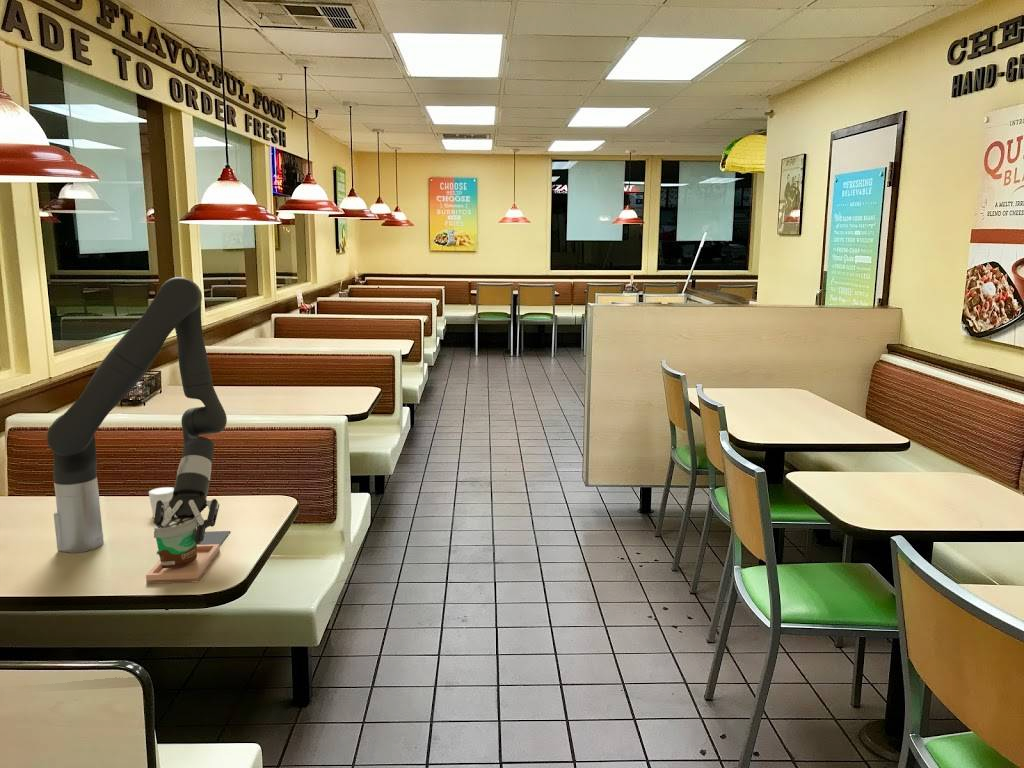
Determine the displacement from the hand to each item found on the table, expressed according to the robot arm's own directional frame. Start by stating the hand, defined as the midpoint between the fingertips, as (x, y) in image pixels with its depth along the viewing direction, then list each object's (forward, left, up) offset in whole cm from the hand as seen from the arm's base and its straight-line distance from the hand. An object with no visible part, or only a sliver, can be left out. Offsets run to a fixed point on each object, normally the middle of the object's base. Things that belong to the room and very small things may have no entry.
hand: (180, 543), depth 176 cm
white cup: (-18, +39, -7) cm, 43 cm away
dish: (0, +1, -6) cm, 7 cm away
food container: (0, +1, -5) cm, 5 cm away
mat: (-3, +17, -6) cm, 18 cm away
